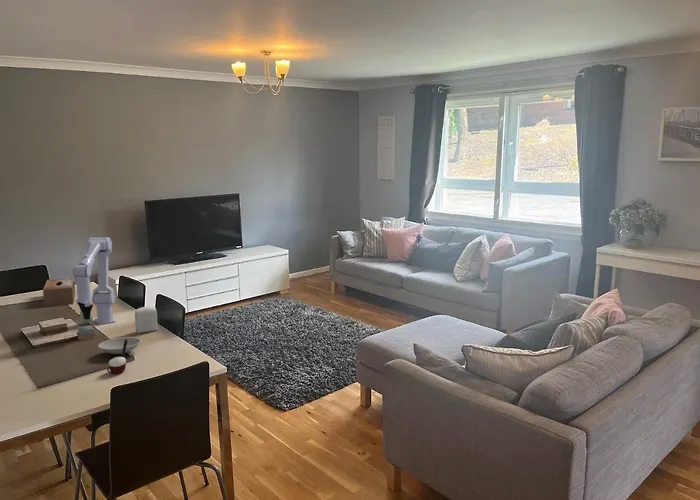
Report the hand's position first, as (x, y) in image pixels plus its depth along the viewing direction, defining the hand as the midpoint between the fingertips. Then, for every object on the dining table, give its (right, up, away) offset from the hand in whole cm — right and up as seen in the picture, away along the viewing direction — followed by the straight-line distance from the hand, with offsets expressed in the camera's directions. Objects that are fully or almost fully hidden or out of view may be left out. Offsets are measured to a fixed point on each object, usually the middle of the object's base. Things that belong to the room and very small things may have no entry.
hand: (86, 317), depth 253 cm
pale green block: (0, -2, 0) cm, 2 cm away
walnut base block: (-1, -10, +1) cm, 10 cm away
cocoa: (+32, -17, -37) cm, 52 cm away
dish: (+25, -14, -19) cm, 34 cm away
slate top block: (0, -7, +1) cm, 7 cm away
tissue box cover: (-46, +2, +63) cm, 79 cm away
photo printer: (+25, -8, +10) cm, 28 cm away
